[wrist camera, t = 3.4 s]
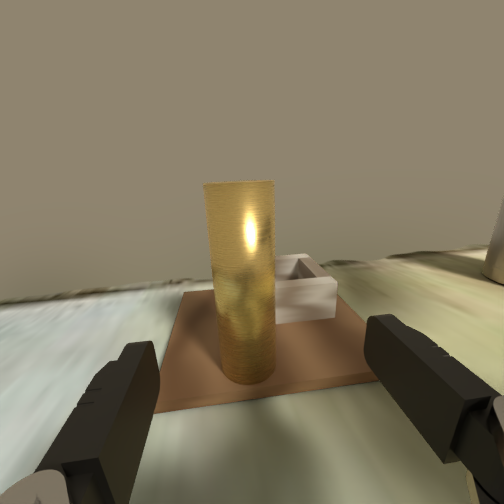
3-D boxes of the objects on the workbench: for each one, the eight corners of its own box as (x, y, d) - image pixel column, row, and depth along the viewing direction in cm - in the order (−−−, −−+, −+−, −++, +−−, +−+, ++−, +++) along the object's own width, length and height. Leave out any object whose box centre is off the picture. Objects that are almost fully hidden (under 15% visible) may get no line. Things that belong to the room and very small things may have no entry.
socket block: (322, 285, 33) (324, 252, 32) (406, 376, 18) (417, 321, 17) (185, 298, 31) (179, 263, 30) (153, 413, 16) (139, 355, 15)
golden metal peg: (270, 340, 21) (266, 179, 17) (282, 380, 17) (282, 181, 13) (221, 346, 21) (204, 182, 17) (221, 389, 17) (200, 184, 12)
